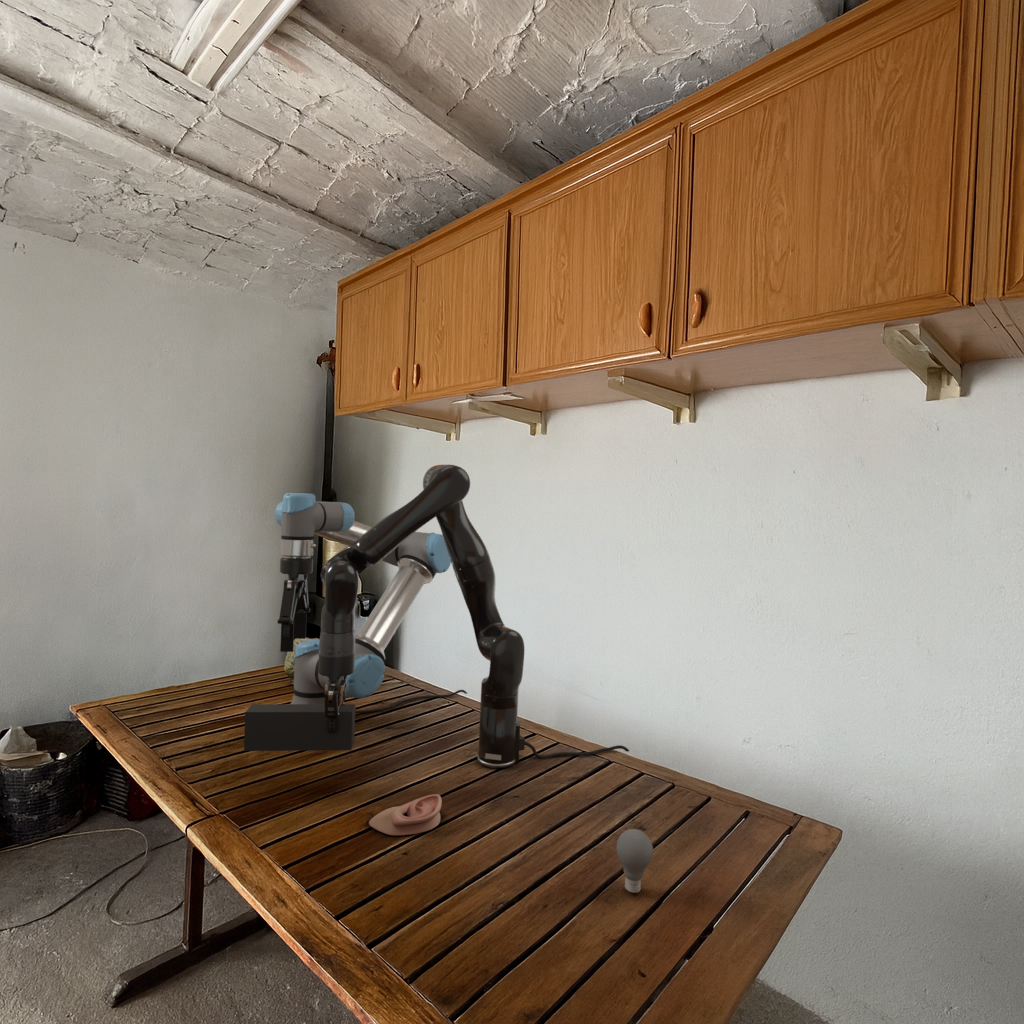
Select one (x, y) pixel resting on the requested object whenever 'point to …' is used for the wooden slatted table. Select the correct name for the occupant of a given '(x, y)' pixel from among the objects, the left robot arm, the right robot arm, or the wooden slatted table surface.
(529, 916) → the wooden slatted table surface
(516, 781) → the wooden slatted table surface
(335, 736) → the bar
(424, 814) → the anatomical model
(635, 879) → the light bulb
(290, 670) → the fossil
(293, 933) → the wooden slatted table surface
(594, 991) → the wooden slatted table surface
